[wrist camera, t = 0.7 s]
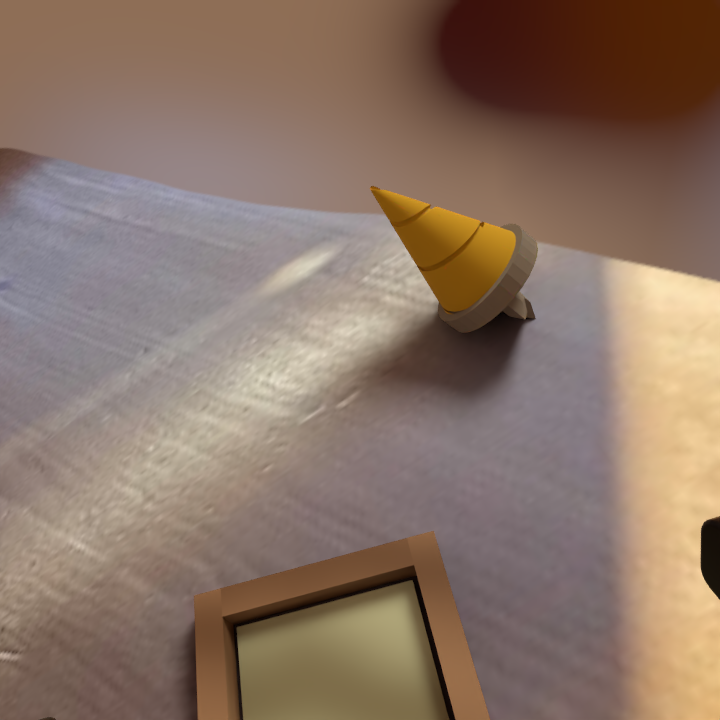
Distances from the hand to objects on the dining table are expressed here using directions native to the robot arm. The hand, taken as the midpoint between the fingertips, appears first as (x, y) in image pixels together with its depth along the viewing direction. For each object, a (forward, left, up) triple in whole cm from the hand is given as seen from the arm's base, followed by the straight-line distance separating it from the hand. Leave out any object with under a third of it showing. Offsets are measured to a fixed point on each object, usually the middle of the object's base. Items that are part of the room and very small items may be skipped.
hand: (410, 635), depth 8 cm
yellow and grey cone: (+17, -6, -14) cm, 22 cm away
